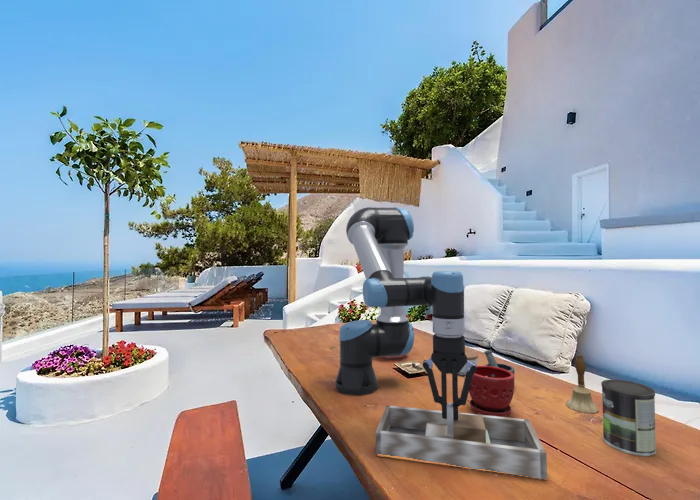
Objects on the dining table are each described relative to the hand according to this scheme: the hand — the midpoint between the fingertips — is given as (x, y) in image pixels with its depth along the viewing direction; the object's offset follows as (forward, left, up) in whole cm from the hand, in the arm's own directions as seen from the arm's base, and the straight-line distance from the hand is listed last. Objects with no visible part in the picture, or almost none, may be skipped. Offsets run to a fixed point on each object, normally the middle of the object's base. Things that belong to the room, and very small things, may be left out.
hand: (450, 431), depth 84 cm
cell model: (-25, +74, -4) cm, 78 cm away
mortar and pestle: (+17, +46, -4) cm, 49 cm away
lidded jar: (+6, +58, -4) cm, 59 cm away
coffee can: (+42, +12, -4) cm, 44 cm away
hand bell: (+39, +33, -4) cm, 51 cm away
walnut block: (+4, 0, -1) cm, 4 cm away
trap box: (+1, 0, -4) cm, 4 cm away
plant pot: (+12, +24, -4) cm, 27 cm away
